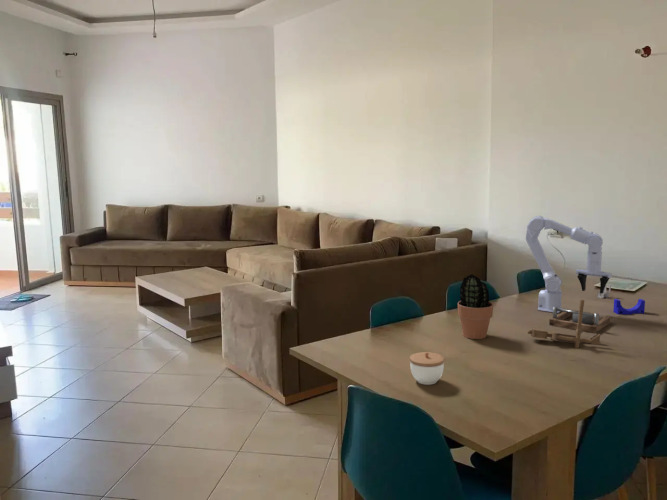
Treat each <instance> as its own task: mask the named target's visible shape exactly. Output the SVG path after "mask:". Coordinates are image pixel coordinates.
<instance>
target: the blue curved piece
mask: <svg viewBox="0 0 667 500" xmlns="http://www.w3.org/2000/svg"><path fill="white" fill-rule="evenodd" d="M645 306H646V300H644V299H643V298H639V299H638V301H637V303H636V304H635V305H634V306H633V307H631V308H626V307H623V306H622V303H621V300H620V299H618V298H614V299H613V313H615V314H617V315H632V314H645V310H646V309H645V308H646V307H645Z"/></svg>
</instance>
